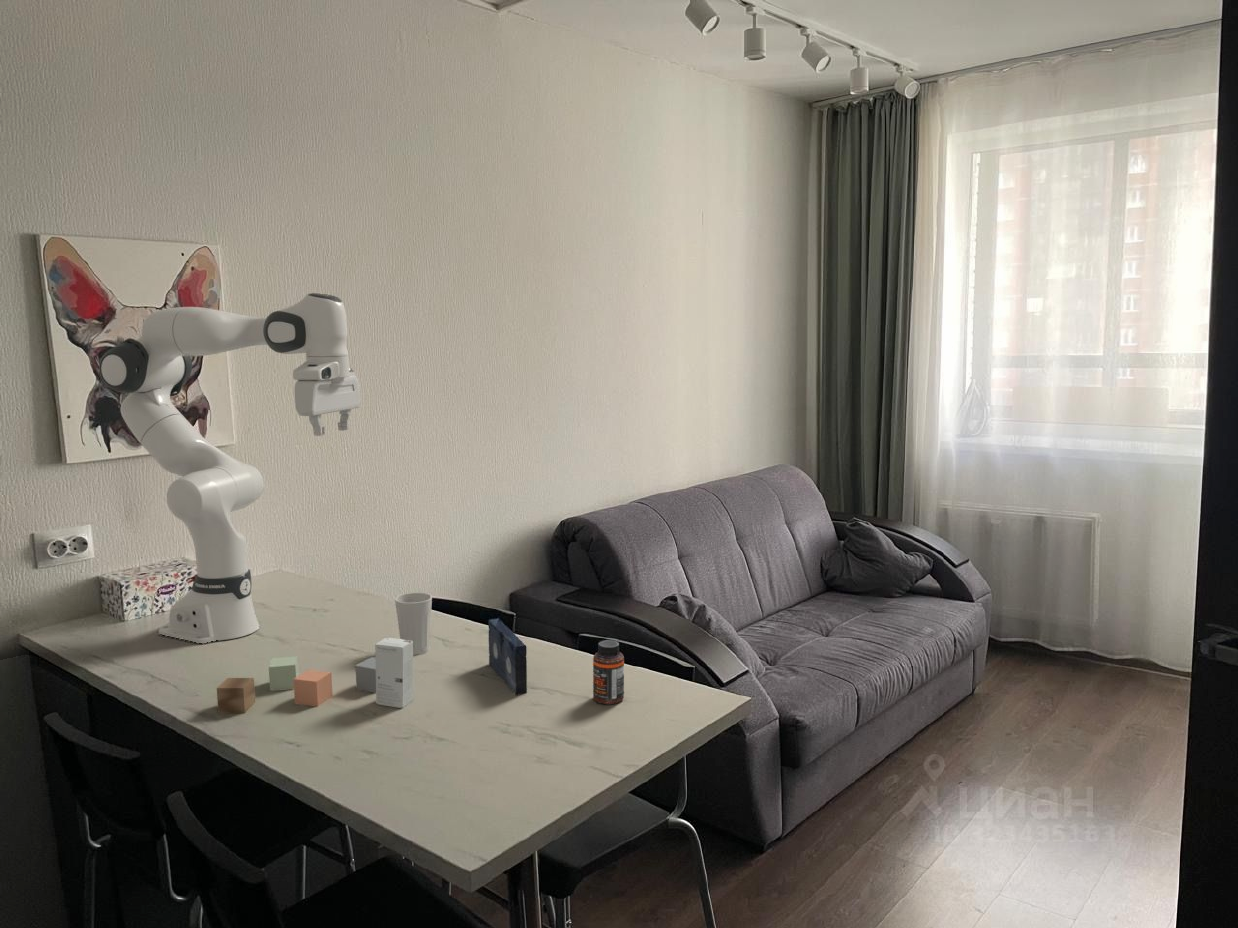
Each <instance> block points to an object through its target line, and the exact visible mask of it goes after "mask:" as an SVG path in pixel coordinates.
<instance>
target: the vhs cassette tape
mask: <svg viewBox="0 0 1238 928" xmlns="http://www.w3.org/2000/svg"><path fill="white" fill-rule="evenodd" d="M488 654H489V655H488V664H489V666H490V667H491V669H492V670H493V671H494V672H495V673H496V674H497V675H498V676H499V678H500V679H501V678H502V679H503V680H504V681H503V680H502V679H501V680H502V681H503V682H504V684H506V686H507V685H508V686H509V687H508V686H507V687H508V688H509V689H510V690H511V691H512V692H513V694H514V693H515V694H514V695H515V696H517V695H518V694H519V695H523V694H527V693H528V681H527V680H528V679H527V678H528V677H527V676H528V675H527V672H528V670H527V669H528V666H527V662H528V661H527V655H528V653H527V645H526V644H525V642H523V641H522V640H521V638H519V637H518V636H517V635H516V634H515V633H514V632H513V630H511V629H510V628H509V627H508V626H507V625H506V624H505V623H504V622H503V621H502V620H501V619H500V618H499V617H498V618H491V619H488ZM519 695H518V696H519Z"/></svg>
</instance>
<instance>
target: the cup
mask: <svg viewBox="0 0 1238 928" xmlns="http://www.w3.org/2000/svg"><path fill="white" fill-rule="evenodd" d="M432 600H433V596H432V594H429V593H428V592H427V593H426V592H408V593H407V592H406V593H402V594H400V595H399V594H398V595H397V596H396V597H395V598H394V602H395V609H396V616H397V617H396V618H397V623H398V632H399V639H403V640H409V641H413V656H416V655H417V656H419V655H423V654H426V653H428V652H429V651H430V650H431V643H430V640H431V622H432V621H431V619H432V603H433V601H432Z"/></svg>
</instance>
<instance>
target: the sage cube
mask: <svg viewBox="0 0 1238 928" xmlns="http://www.w3.org/2000/svg"><path fill="white" fill-rule="evenodd" d="M298 661H299V659H298V656H297V655H296V656H284V657H275V658H274V657H273V658H271V659H270V662H269V665H268V678H269V691H270V692H275V691H283V690H285V691H286V690H294V678H296V677H298V676H299V663H298Z"/></svg>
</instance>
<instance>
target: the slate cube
mask: <svg viewBox="0 0 1238 928" xmlns="http://www.w3.org/2000/svg"><path fill="white" fill-rule="evenodd" d="M355 680H356V681H355V682H356V686H355V687H356V690H359V691H364V692H365V691H366V692H370V693H374V694H376V657H373V656H372V657H369V658H368V659H365V660H364V661H361V662H359V663H358V664H355Z"/></svg>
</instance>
